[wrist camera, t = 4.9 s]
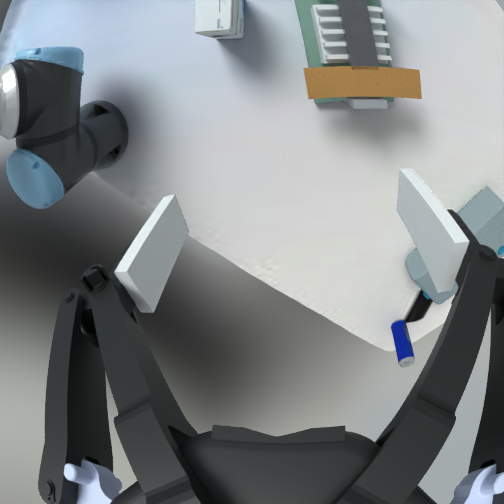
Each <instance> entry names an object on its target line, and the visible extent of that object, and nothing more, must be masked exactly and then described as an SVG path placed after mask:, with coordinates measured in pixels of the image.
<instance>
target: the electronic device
mask: <svg viewBox="0 0 504 504" xmlns="http://www.w3.org/2000/svg"><path fill="white" fill-rule="evenodd" d="M457 214H458V215H459V216H460V217H461V218H462V220H463V221H464V223H465V224H466V225H467V226H468V228H469V229H470V230H471V232H472V233H473V235H474V236H475V237H476V239H477V240H478V242H479V243H480V245H486V246H488V247H490V248H492V249H493V250H494V251H495V252H496V254H497V256H498V258H501V257H504V203H503V201H502V200H501V199H500V198H499V197H498V196H497V195H496V194H495V193H494V192H493V191H492V190H491V189H490V188H489V187H488V186H486V187H485V188H484V189H483V190H481V191H480V192H479V193H478V194H477V195H476V196H475V197H474V198H473V199H472V200H471V201H469V202H468V203H467V204H466V205H465V206H464V207H463V208H462V209H461V210H460V211H459V212H458V213H457ZM405 264H406V267H407V270H408V272H409V274H410V277H411V279H412V280H413V281H414V282H415V283H416V284H417V285H418V286H419V287H420V288H421V289H422V290H423V295H424V296H425V297H426V298H427V299H430V298H431V299H432V300H433V301H434V302H435V303H436V304H441V303H443V302H444V301H446V300H447V299H449V298H450V297H451V296H453V295H454V294H456V292H457V290H458V288H459V287H458V285H457V283H456V281H455V283H454V285H453V288H452V290H451V291H445V292H439V293H438V292H437V290H436V287H435V285H434V283H433V280H432V278H431V276H430V274H429V272H428V269H427V267H426V265H425V263H424V261H423V259H422V257H421V255H420V253H419V251H418V249H417V248H416V249H415V250H414V251H413V252H412V253H411V254H410V255H409V256H408V257H407V258H406V260H405Z"/></svg>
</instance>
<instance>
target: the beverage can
mask: <svg viewBox="0 0 504 504" xmlns="http://www.w3.org/2000/svg"><path fill="white" fill-rule="evenodd" d="M391 329H392V333H393V338H394V342H395V347H396V352H397V357H398V362H399V365H400V367H407V366H410V365H412V364H413V363H414V360H415V358H414V353H413V349H412V345H411V341H410V337H409V333H408V329H407V325H406V322H405V321H404V320H396V321H395V322H393V324H392V326H391Z"/></svg>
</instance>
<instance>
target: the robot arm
mask: <svg viewBox="0 0 504 504" xmlns="http://www.w3.org/2000/svg"><path fill="white" fill-rule="evenodd" d="M83 60H84V54H83V52H82V50H81V49H79V48H76V47H45V48H37V49H28V50H23V51H20V52H18V53H17V55H16V57H15V59H14V61H15V62H12V63H9V64H6V65H4V66H3V68H2V69H1V70H0V135H1V136H3V137H5V138H6V139H9V140H10V139H12V138H14V137H16V147H17V150H14V151H13V152H12V153H11V155H10V156H9V158H8V162H7V175H8V178H9V181H10V183H11V186H12V187H13V189H14V191H15V192H16V193H17V195H18V196H19V197H20V198H21V199H22V200H23V201H24V202H25V203H26V204H28V205H30V206H32V207H34V208H38V209H44V208H47V207H49V206H51V205H52V204H53V203H54V202H56V201H57V200H59V199H61V198H62V197H63V195H65V193H67V192H68V191H69V190H70V189H71V188H72V187H73V186H74V185H75V184H77V183H78V182H79V181H80V180H81V179H82V178H83V177H84V176H86V175H87V174H88V173H89V172H91V171H95V170H100V169H104V168H107V167H109V166H111V165H112V164H113V163H115V162H116V161H117V160H118V159H120V157H121V156H122V155H123V153H124V152H125V149H126V147H127V143H128V128H127V124H126V121H125V119H124V117H123V115H122V114H121V112H120V111H119V110H118V109H117V108H116V107H115V106H114V105H112V104H111V103H108V102H105V101H93V102H90V103H88V104H85V105H83V106H82V107H80V96H81V82H82V75H83V74H84V71H83ZM397 212H398V214H399V215H400V217H401V219H402V221H403V222H404V224H405V226H406V228H407V230H408V232H409V233H410V235H411V237H412V239H413V241H414V243H415V245H416V247H417V249H418V251H419V253H420V255H421V257H422V259H423V261H424V263H425V265H426V267H427V269H428V272H429V274H430V276H431V278H432V280H433V283H434V285H435V287H436V290H437V292H438V293H439V292H445V291H451V290H452V288H453V285H454V283H455V281H456V283H457V285H458V287H459V288H458V290H457V292H456V294H455V297H454V299H453V301H452V303H451V304H452V306H451V309H450V311H449V314H448V316H447V319H446V321H445V324H444V326H443V328H442V331H441V333H440V335H439V338H438V340H437V342H436V344H435V346H434V348H433V350H432V353H431V354H430V357H429V359H428V360H427V363H426V365H425V366H424V368H423V370H422V372H421V374H420V376H419V378H418V379H417V381H416V383H415V385H414V386H413V388H412V390H411V392H410V393H409V395H408V396H407V398H406V400H405V401H404V403H403V405H402V406H401V408H400V409H399V411H398V412H397V414H396V415H395V417H394V418H393V420H392V421H391V422H390V423H389V425H388V426H387V427H386V429H385V430H384V431H383V432H382V434H381V435H380V436H379V438H378V439H377V440H376V442H373V441H372V440H370V439H369V438H367V437H365V436H362V435H360V434H357V433H353V432H347V431H345V426H337V427H324V428H311V429H307V430H303V431H300V432H296V433H292V434H288V435H283V436H279V437H276V436H271V435H267V434H263V433H260V432H257V431H253V430H250V429H247V428H243V427H230V426H220V425H213V429H212V431H209V432H205V433H202V434H198V433H197V432H196V431H195V429H194V428H193V427H192V426H191V425H190V424H189V422H188V421H187V420H186V418H185V416H184V415H183V413H182V411H181V409H180V407H179V406H178V404H177V402H176V400H175V398H174V396H173V394H172V393H171V391H170V389H169V387H168V385H167V383H166V381H165V379H164V377H163V375H162V373H161V370H160V368H159V366H158V364H157V362H156V360H155V358H154V355H153V353H152V351H151V349H150V347H149V344H148V342H147V340H146V337H145V335H144V333H143V330H142V328H141V325H140V323H139V320H138V318H137V315H136V314H135V312H134V311H133V309H134V307H135V305H136V306H137V307H138V308H139V310H140V311H141V312H154V311H155V308H156V305H157V303H158V301H159V298H160V296H161V294H162V291H163V289H164V286H165V284H166V282H167V279H168V277H169V275H170V273H171V270H172V268H173V266H174V263H175V261H176V259H177V257H178V255H179V252H180V250H181V248H182V246H183V244H184V241H185V239H186V237H187V235H188V233H189V229H188V226H187V224H186V221H185V219H184V216H183V214H182V211H181V209H180V206H179V203H178V201H177V198H176V196H175V195H169V196H165V197H164V198H163V199H162V200H161V202H160V203H159V204H158V206H157V207H156V209H155V210H154V211H153V213H152V214H151V216H150V217H149V219H148V220H147V222H146V223H145V224H144V226H143V227H142V229H141V230H140V232H139V233H138V235H137V236H136V238H135V239H134V241H133V242H132V243H130V244H129V245H128V246H127V247H126V248H125V250H124V251H123V253H122V254H121V256H120V257H119V259H118V261H117V262H116V264H115V265H114V267H113V269H112V270H111V272H110V274H109V275H108V274H107V273H106V271H105V270H104V268H103V266H102V265H100V264H96V265H93V266H91V267H90V268H88V269H87V270H86V271H85V272H84V273H83V275H82V277H81V282H82V283H83V285H84V286H85V287H86V289H87V290H88V292H87V293H84V294H81V292H80V291H79V290H78V289H77V288H73V289H70V290H68V291H67V292H66V293H65V294H64V296H63V297H62V299H61V302H60V306H59V310H58V315H57V319H56V325H55V330H54V335H53V341H52V347H51V353H50V360H49V368H48V376H47V388H46V402H45V444H44V449H43V455H42V461H41V466H40V473H39V481H38V489H39V492H40V495H41V497H42V499H43V500H44V501H45V502H46V503H47V504H437V503H436V502H435V501H434V500H432V499H431V498H430V497H429V496H428V495H427V494H426V493H425V492H424V491H423V490H422V489H421V488H420V487H419V486H418V484H419V482H420V481H421V479H422V478H423V476H424V475H425V474H426V472H427V471H428V469H429V468H430V466H431V465H432V463H433V461H434V460H435V458H436V457H437V455H438V453H439V452H440V450H441V448H442V446H443V445H444V443H445V441H446V439H447V437H448V436H449V434H450V432H451V430H452V428H453V426H454V424H455V420H456V416H455V411H456V408H457V406H458V404H459V401H460V399H461V397H462V395H463V392H464V390H465V388H466V385H467V383H468V380H469V378H470V375H471V373H472V370H473V367H474V364H475V361H476V358H477V355H478V352H479V349H480V346H481V343H482V339H483V336H484V332H485V329H486V325H487V321H488V317H489V313H490V308H491V346H490V361H489V372H488V381H487V388H486V394H485V400H484V406H483V411H482V416H481V421H480V425H479V429H478V433H477V437H476V441H475V445H474V449H473V453H472V456H471V461H470V466H469V471H468V475H467V476H466V477H464V479H463V480H462V481H461V482H460V484H459V485H458V486H457V487H456V489H455V491H454V498H453V500H452V501H451V503H450V504H504V259H503V258H498V256H497V254H496V252H495V251H494V250H493V249H492V248H490V247H488V246H486V245H480V243H479V242H478V240H477V239H476V237H475V236H474V235H473V233H472V232H471V230H470V229H469V228H468V226H467V225H466V224H465V223H464V221H463V220H462V218H461V217H460V216H459V215H458V214H457V213H455V212H454V211H453V210H446V208H445V207H444V206H443V205H442V203H441V202H440V201H439V200H438V199H437V197H436V196H435V195H434V194H433V192H432V191H431V190H430V189H429V188H428V187H427V185H426V184H425V183H424V182H423V181H422V180H421V179H420V178H419V176H418V175H417V174H416V173H415V172H414V171H413V170H412V169H400V170H399V187H398V200H397ZM81 329H82V330H83V332H82V331H81ZM105 370H106V374H107V378H108V381H109V384H110V388H111V391H112V394H113V397H114V400H115V403H116V406H117V409H118V413H119V414H118V416H116V417H114V424H115V428H116V431H117V433H118V436H119V438H120V441H121V444H122V446H123V449H124V451H125V453H126V456H127V458H128V461H129V463H130V465H131V467H132V470H133V472H134V474H135V476H136V478H137V480H138V481H137V482H135V483H134V484H133V485H131V486H130V487H129V488H127V489H126V490H125V491H123V492H122V493H121V494H119V491H120V490H121V488H122V484H121V481H120V480H119V479H118V478H116V477H115V476H114V474H113V456H112V446H111V439H110V431H109V422H108V412H107V398H106V379H105Z"/></svg>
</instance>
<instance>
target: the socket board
mask: <svg viewBox="0 0 504 504" xmlns="http://www.w3.org/2000/svg"><path fill="white" fill-rule="evenodd" d="M294 1H295V5H296V9H297V13H298V17H299V22H300V26H301V31H302V35H303V40H304V45H305V50H306V55H307V60H308V66H309V68H316V67H335V66H349V60H348V54H347V48H346V43H345V38H344V33H343V28H342V23H341V19H340V15H339V10H338V6H337V2H336V0H294ZM366 4H367V8H368V12H369V16H370V21H371V25H372V30H373V35H374V41H375V46H376V52H377V59H378V65H379V67H391V65H390V60H392V59H391V56H389V49H388V48H390V44H389V43H387V37H386V36H388V32H387V31H385V25H384V24H386V21H385V19H383V15H382V12H383V8H381V6H380V2H379V0H366ZM387 101H391V102H394V99H393V97H332V98H316V99H314V102H315V103H327V102H346V103H347V104H348V105H350V106H351V107H353V108H354V109H388V102H387Z"/></svg>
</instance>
